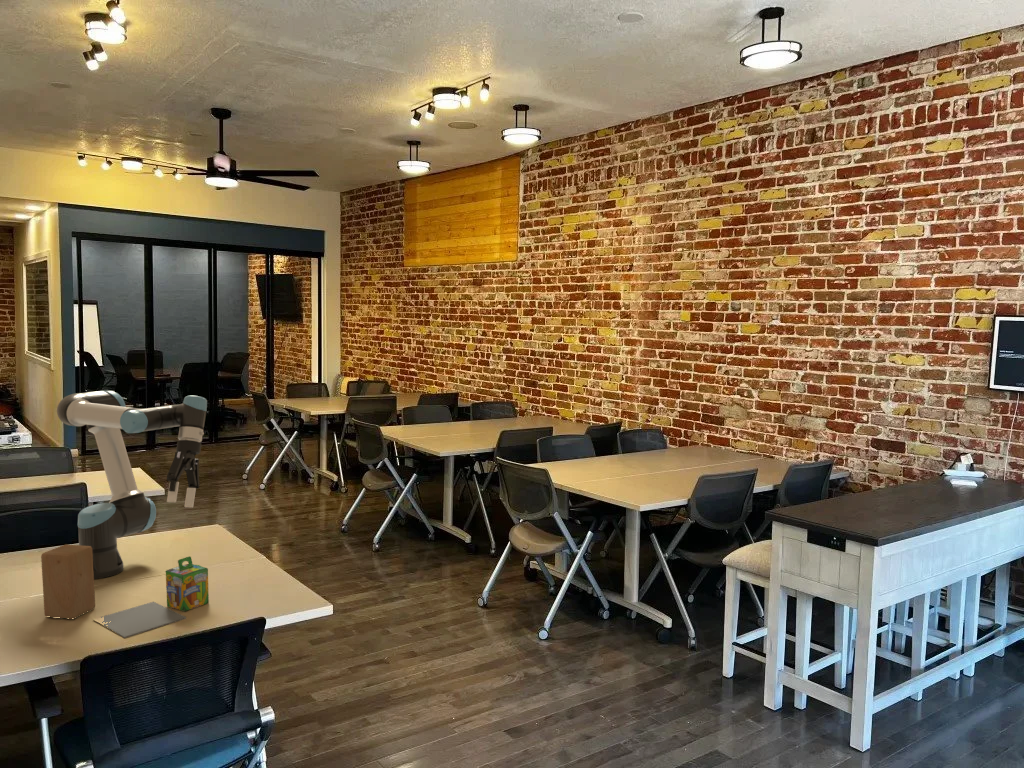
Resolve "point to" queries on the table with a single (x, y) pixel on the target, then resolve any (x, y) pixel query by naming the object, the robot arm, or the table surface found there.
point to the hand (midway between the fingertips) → (180, 504)
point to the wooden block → (68, 581)
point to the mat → (141, 619)
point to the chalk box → (187, 586)
